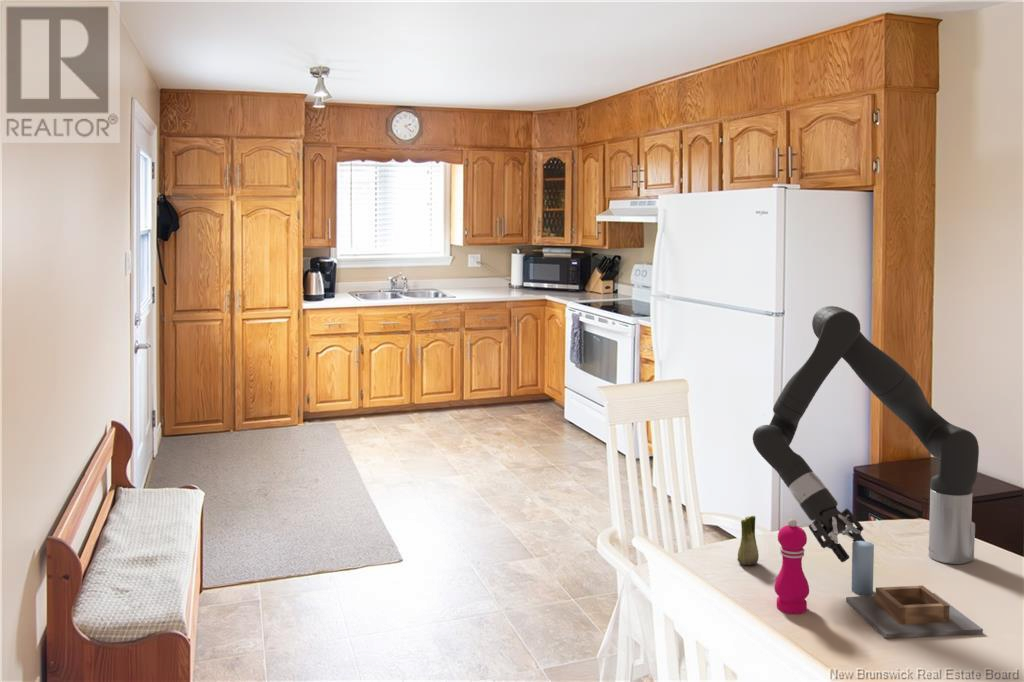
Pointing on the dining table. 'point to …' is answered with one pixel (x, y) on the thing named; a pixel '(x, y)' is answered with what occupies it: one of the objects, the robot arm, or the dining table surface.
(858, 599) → the wooden frame tray
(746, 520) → the fennel bulb
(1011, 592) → the dining table surface
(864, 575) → the post
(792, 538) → the pepper mill
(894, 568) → the dining table surface
